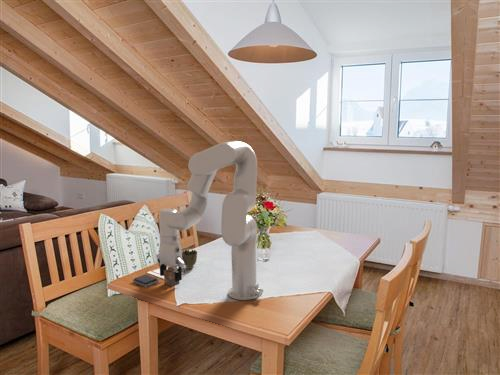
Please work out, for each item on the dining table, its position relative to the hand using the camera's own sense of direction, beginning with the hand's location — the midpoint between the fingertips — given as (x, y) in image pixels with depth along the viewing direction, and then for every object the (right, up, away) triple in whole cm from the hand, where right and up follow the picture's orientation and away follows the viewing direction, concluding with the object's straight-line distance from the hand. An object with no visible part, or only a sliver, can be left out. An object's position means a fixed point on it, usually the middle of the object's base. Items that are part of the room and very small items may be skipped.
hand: (170, 277), depth 177 cm
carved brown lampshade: (+5, 0, +18) cm, 19 cm away
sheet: (-5, -1, +13) cm, 13 cm away
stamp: (0, -3, 0) cm, 3 cm away
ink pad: (-11, -2, +2) cm, 12 cm away
